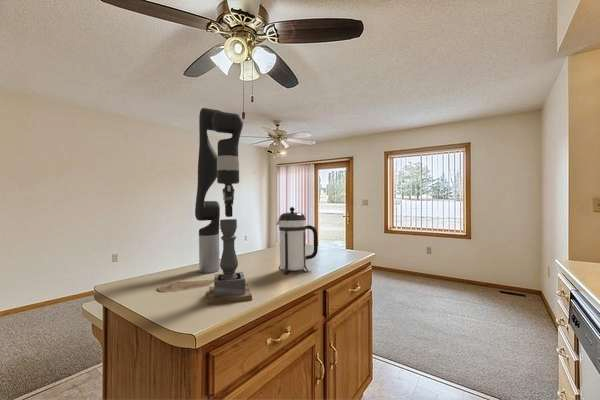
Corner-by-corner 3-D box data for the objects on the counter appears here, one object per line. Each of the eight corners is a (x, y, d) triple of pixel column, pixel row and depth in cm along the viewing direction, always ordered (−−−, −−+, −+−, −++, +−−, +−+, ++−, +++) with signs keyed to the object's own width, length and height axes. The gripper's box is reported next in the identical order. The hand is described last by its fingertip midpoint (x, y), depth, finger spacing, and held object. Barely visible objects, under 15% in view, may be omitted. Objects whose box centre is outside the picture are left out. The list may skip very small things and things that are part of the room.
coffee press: (300, 277, 118) (299, 207, 119) (270, 272, 126) (269, 207, 127) (318, 268, 133) (317, 206, 134) (290, 264, 142) (289, 206, 142)
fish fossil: (221, 277, 121) (221, 275, 121) (229, 285, 112) (230, 282, 112) (155, 287, 106) (155, 284, 106) (159, 297, 98) (159, 293, 98)
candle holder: (216, 292, 95) (215, 220, 95) (228, 287, 101) (227, 218, 101) (230, 294, 92) (229, 220, 92) (242, 289, 98) (241, 219, 98)
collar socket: (209, 291, 101) (209, 273, 101) (247, 287, 105) (247, 270, 105) (207, 304, 88) (207, 284, 88) (252, 299, 92) (251, 280, 92)
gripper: (217, 171, 102) (217, 215, 102) (216, 167, 88) (217, 217, 88) (237, 172, 104) (238, 214, 104) (240, 167, 91) (241, 217, 91)
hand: (228, 216), depth 96 cm, fingers open, 8 cm apart
